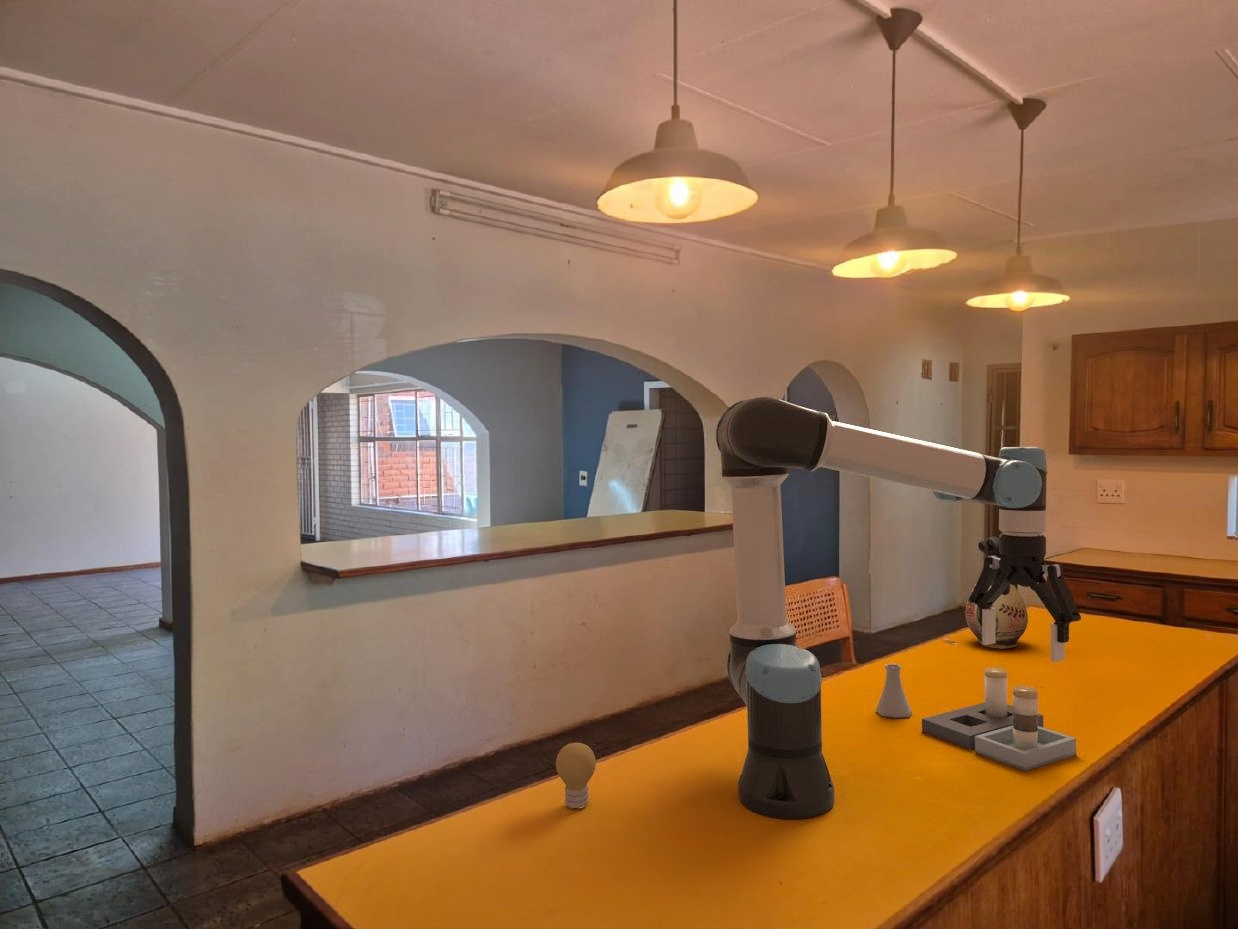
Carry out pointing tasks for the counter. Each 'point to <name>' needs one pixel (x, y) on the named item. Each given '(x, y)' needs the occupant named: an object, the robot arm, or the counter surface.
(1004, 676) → the cylinder
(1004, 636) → the ceramic jug
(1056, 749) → the parts tray
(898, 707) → the flask
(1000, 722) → the block
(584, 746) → the light bulb
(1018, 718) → the cylinder
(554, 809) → the counter surface
